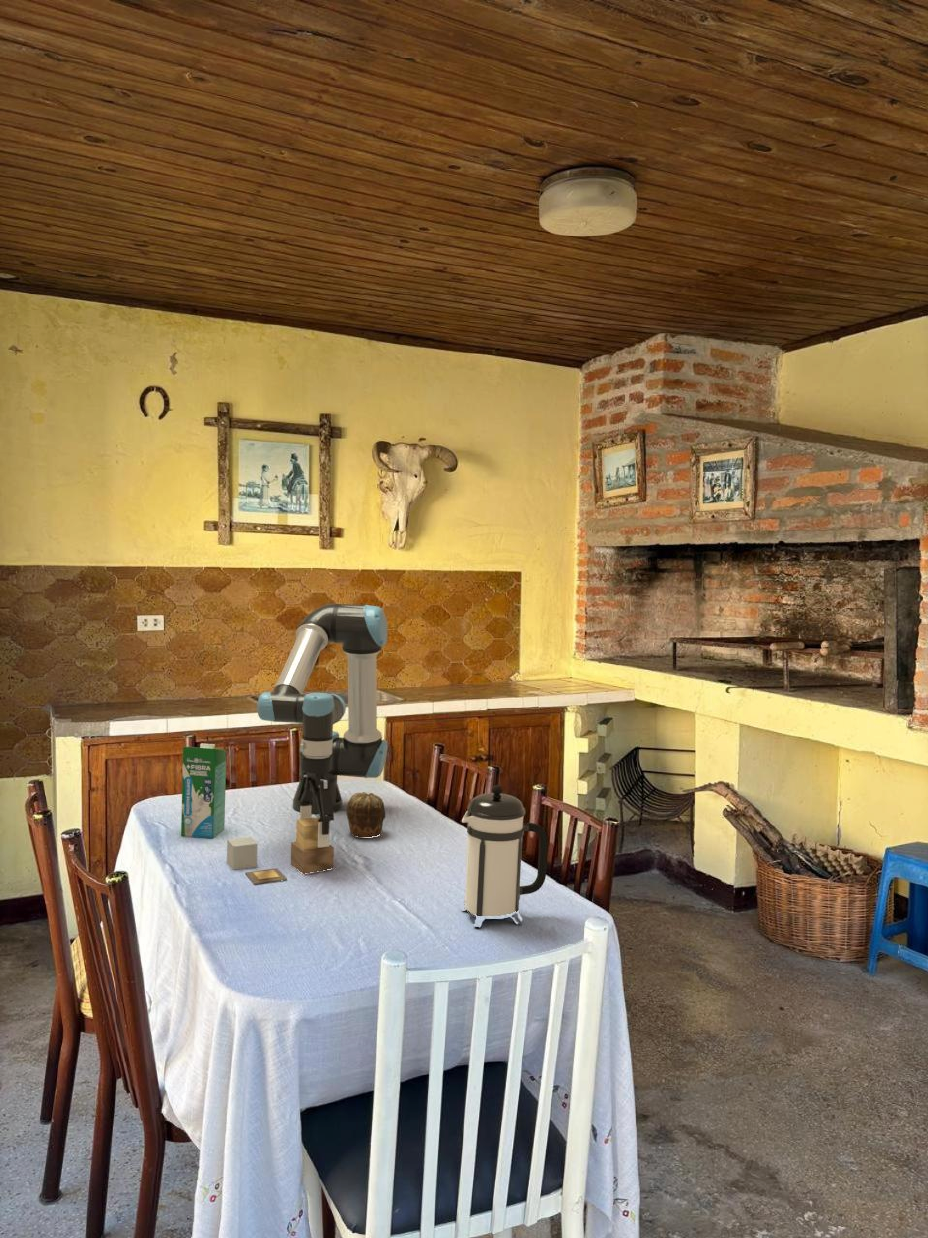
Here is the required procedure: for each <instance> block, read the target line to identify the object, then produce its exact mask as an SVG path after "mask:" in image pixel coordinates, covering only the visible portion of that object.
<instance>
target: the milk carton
mask: <svg viewBox="0 0 928 1238" xmlns="http://www.w3.org/2000/svg"><path fill="white" fill-rule="evenodd" d="M215 747H216V744H214V743H213V744H212V743H200V745H199V747H196V746H183V747H182V776H181V777H182V779H181V781H182V782H181V784H182V785H181V819H180V820H181V821H180V822H181V823H180V825H181V826H180V828H181V830H180V836H181V837H185V838H186V837H188V838H199V839H201V838H202V839H214V838H215V837H216V836H217V835H219V833H221V832H223V830H225V827H226V826H225V821H226V820H225V819H226V815H225V814H226V785H227V784H226V782H227V781H226V779H227V749H220V748H215Z"/></svg>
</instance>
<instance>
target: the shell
mask: <svg viewBox="0 0 928 1238" xmlns="http://www.w3.org/2000/svg"><path fill="white" fill-rule="evenodd" d="M385 818H386V809H385V803H384V801H383V799H382V797H380V796H379V795H378V794H374V793H372V792H369V793H367V792H364V791H363V792H356V793H354V794H353V795H351V797H350V798H349V800H348V801H347V806H346V819H347V820H348V821H347V822H348V827H349V833H350V834H351V835H352V834H353V835H354V836H353V835H352V836H353V837H355V836H358V837H372V836H377V835H379V834H380V835H381V833H382V831H383V824H384V820H385Z"/></svg>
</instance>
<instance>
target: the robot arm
mask: <svg viewBox="0 0 928 1238" xmlns="http://www.w3.org/2000/svg"><path fill="white" fill-rule="evenodd" d="M387 642H388V622H387V617H386V614H385V612H384V610H383V609H382V607H380V606H377V605H376V606H375V605H368V604H349V603H348V604H345V603H344V604H343V603H327V604H325V605H322V606H319V607H318V608H315V609H314V610H312V611H311V612H310V613H308V615H306V616H305V617H304V619H302V621H301V622H300V624H299V625H298V627H297V629H296V631H295V642H294V644H293V647H292V648H291V651H290V653H289V655H288V658H287V660H286V662H285V664H284V667H283V668H282V670H281V673H280V675H279V676H278V679H277V682H276V683H275V686H274V688H273V690H272V692H271V691H265V692H262V693H261V694H260V695H259V696H258V698H257V699H258V700H257V706H256V708H257V716H258V717H259V719H260V720H262V721H266V722H274V723H294V724H302V732H301V733H302V736H301V739H300V745H299V746H300V749H299V779H298V781H299V782H298V785H297V787H296V791H295V793H294V796H293V799H292V809H294V811H298V812H299V819H307V818H312V814H318V817H320V819H318V847H319V848H320V847H328V846H329V844H330V836H331V835H330V834H331V833H330V831H331V829H330V828H331V821H334V820H335V815H334V812H333V811H335V812H337V811H336V810H338V809H340V808H341V807H342V808H343V798H342V795H341V791H340V788H339V784H338V776H341V777H352V778H363V779H364V778H365V779H368V778H370V779H372V778H375V779H376V778H378V777H380V776H381V775H382V773H383V772H384V771H383V770H384V767H385V763H386V760H387V754H388V741H387V740H385V739H383V734H382V732H381V731H380V730H379V729H377V728H378V725H377V721H378V719H377V718H378V716H377V715H378V713H377V712H378V711H377V709H378V706H377V705H378V703H377V701H378V700H377V696H378V695H377V692H378V691H377V686H378V685H377V684H378V683H377V682H378V681H377V668H378V667H377V665H378V664H377V659H378V658H377V656H378V654H380V652H382V648H383V647H384V646H385V645H387ZM331 643H333V644H334V643H335V644H342V645H341V647H342V649H341V650H342V652H343V653H344V654H345V655H347V704H348V705H347V706H348V707H346V703H345V700H344V699H343V698H342V697H341V696H340V695H338V694H335V693H326V692H325V693H324V692H311V693H307V694H303V693H304V690H305V689H306V686H307V683H308V682H309V679H310V676H311V675H312V672H313V671H314V667H315V665H316V662H317V660H318V659H319V656H320V653H321V651H323V650H324V649H325V648H326V646H327V645H328V644H331ZM347 710H348V711H347ZM346 711H347V712H348V714H347V715H348V716H347V717H348V724H347V725H348V726H347V727H348V729H346V730H347V731H345V732H344V733H343V737H340V733H339V732H338V731H334V730H333V729H334V725H335V724H337V723H339V722H340V721H341V720H342V718H343V717H344V716H345V713H346ZM342 808H341V809H342ZM341 809H340V810H341ZM338 811H339V810H338Z"/></svg>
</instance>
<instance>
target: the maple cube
mask: <svg viewBox="0 0 928 1238" xmlns="http://www.w3.org/2000/svg"><path fill="white" fill-rule="evenodd" d="M318 819H320V816H318V817H317V816H315V817H311V818H307V819H300V818H298V819H296V835H295V842H296V843H297V844H298V845H299V846H300V847H301V848H302V849H303V850H309V849H317V848H319V847H318ZM320 848H325V847H320Z"/></svg>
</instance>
